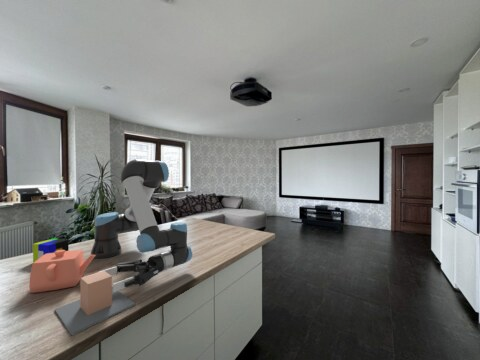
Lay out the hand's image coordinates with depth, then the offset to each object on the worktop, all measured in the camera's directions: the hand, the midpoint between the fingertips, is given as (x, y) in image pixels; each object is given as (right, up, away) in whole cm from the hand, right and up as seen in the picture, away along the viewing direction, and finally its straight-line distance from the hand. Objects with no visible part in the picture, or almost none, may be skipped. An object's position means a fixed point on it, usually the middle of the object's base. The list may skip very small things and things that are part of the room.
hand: (105, 281), depth 73 cm
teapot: (-26, -8, +15) cm, 31 cm away
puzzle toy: (-53, -7, +38) cm, 66 cm away
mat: (-2, -8, -2) cm, 8 cm away
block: (-2, -7, -2) cm, 8 cm away
